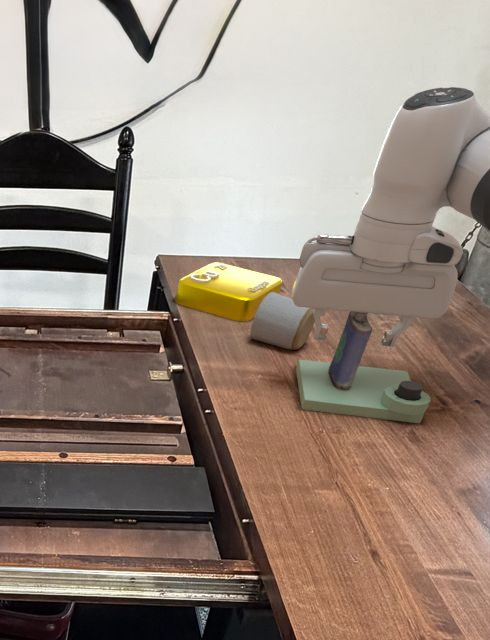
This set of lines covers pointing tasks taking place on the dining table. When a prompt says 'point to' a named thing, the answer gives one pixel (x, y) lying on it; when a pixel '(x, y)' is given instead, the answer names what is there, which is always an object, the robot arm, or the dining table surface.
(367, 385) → the green base with knob
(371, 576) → the dining table surface
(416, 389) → the button
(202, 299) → the element tile
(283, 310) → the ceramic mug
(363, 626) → the dining table surface
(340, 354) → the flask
